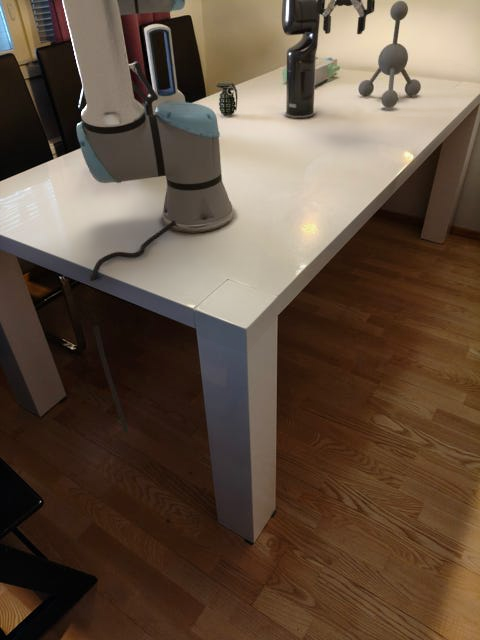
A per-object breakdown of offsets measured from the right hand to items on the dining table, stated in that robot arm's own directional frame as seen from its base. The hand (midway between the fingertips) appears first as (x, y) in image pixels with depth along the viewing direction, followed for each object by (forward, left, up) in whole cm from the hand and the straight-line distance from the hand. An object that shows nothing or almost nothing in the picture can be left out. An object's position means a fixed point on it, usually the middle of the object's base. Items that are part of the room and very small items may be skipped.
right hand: (343, 33), depth 125 cm
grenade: (-37, -27, -28) cm, 54 cm away
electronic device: (-22, -48, -28) cm, 59 cm away
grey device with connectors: (-81, +13, -28) cm, 87 cm away
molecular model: (-39, +33, -28) cm, 58 cm away
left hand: (+4, -59, -19) cm, 62 cm away
